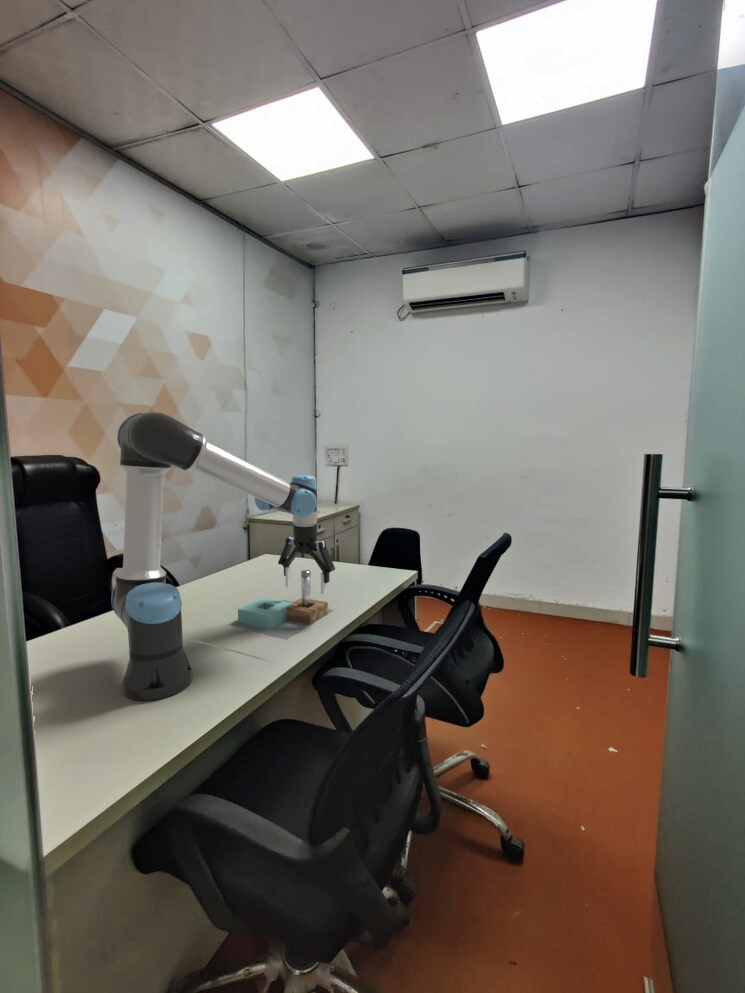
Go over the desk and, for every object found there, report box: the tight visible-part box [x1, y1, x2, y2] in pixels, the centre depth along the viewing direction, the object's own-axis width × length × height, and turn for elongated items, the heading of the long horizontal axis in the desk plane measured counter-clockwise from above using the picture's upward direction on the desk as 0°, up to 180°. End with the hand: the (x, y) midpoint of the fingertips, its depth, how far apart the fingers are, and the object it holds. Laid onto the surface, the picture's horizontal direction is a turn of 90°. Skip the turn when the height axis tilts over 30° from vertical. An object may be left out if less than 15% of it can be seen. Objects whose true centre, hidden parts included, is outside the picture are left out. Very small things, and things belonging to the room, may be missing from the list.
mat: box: [231, 599, 335, 640], centre depth 155 cm, size 26×21×1 cm
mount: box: [287, 598, 329, 626], centre depth 156 cm, size 10×10×4 cm
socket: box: [237, 597, 292, 630], centre depth 153 cm, size 12×12×4 cm
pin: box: [300, 569, 312, 608], centre depth 155 cm, size 3×3×15 cm
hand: (306, 589), depth 155 cm, fingers open, 13 cm apart
